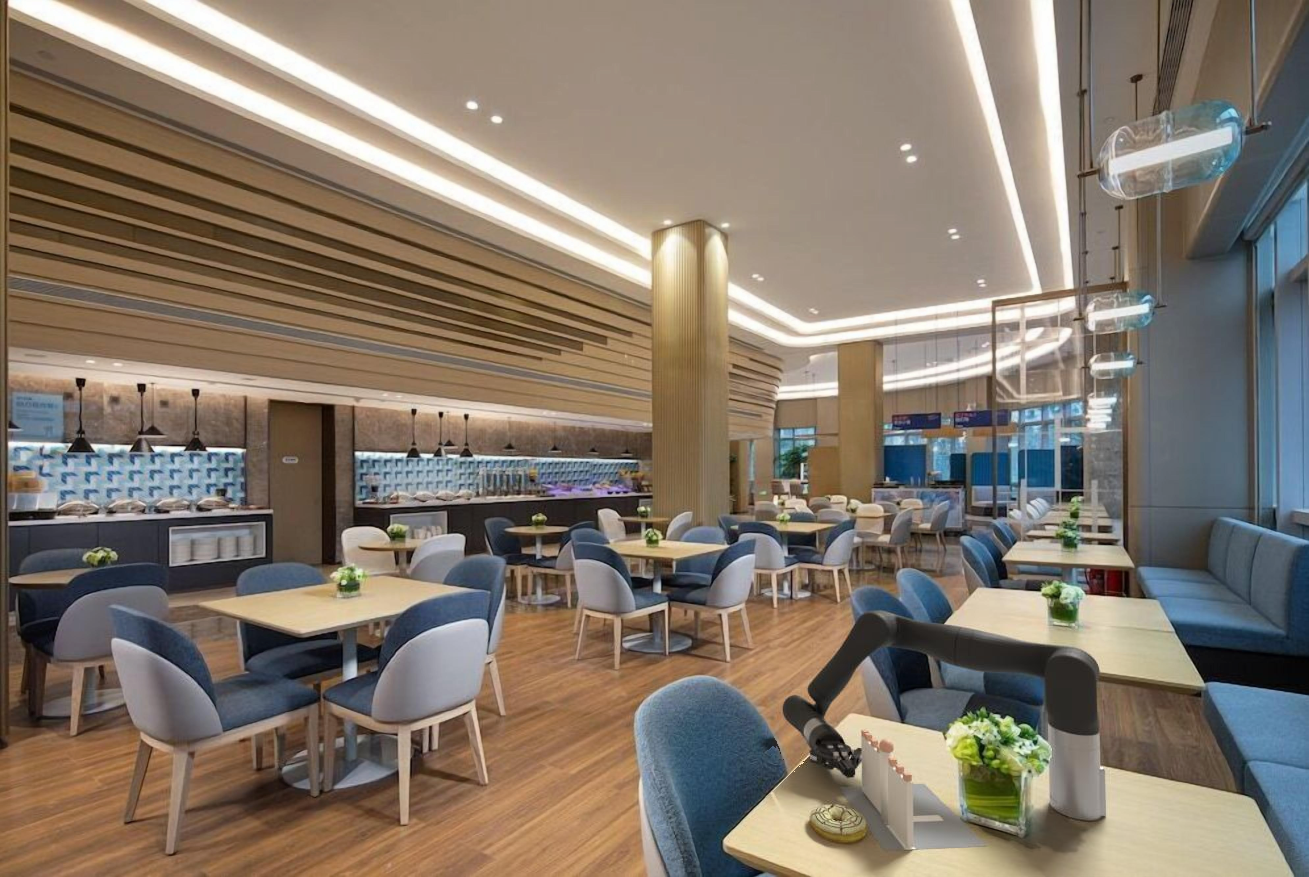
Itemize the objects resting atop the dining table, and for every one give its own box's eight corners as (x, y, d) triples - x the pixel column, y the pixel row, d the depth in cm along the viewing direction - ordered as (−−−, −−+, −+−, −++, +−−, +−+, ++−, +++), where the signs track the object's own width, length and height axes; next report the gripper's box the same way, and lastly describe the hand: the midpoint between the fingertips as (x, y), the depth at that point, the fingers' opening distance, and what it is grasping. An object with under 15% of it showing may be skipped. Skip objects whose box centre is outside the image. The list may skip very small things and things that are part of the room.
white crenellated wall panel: (886, 813, 133) (885, 748, 134) (880, 813, 133) (879, 748, 134) (867, 789, 143) (866, 729, 144) (861, 790, 143) (861, 729, 143)
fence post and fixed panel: (890, 816, 133) (889, 736, 134) (917, 848, 122) (916, 761, 122) (877, 816, 133) (876, 736, 134) (903, 849, 122) (902, 761, 122)
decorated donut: (833, 812, 136) (833, 794, 136) (877, 836, 127) (877, 816, 128) (799, 828, 130) (799, 809, 130) (843, 854, 121) (843, 834, 121)
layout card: (924, 786, 147) (924, 783, 147) (986, 848, 123) (986, 845, 123) (838, 789, 145) (838, 786, 145) (884, 853, 121) (884, 850, 121)
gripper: (796, 724, 156) (820, 756, 139) (849, 722, 158) (880, 754, 140) (796, 756, 156) (821, 792, 139) (850, 753, 157) (880, 789, 140)
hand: (850, 773), depth 140 cm, fingers closed
